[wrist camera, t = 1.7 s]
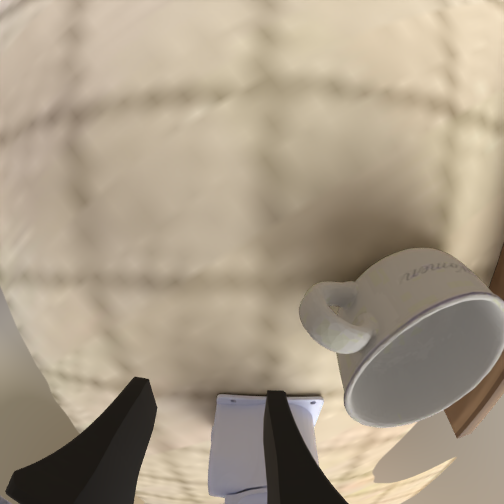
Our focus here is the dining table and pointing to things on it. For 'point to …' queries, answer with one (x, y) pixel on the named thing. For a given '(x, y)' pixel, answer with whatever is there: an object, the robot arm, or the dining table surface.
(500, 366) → the wall board
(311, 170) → the dining table surface
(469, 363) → the teacup
